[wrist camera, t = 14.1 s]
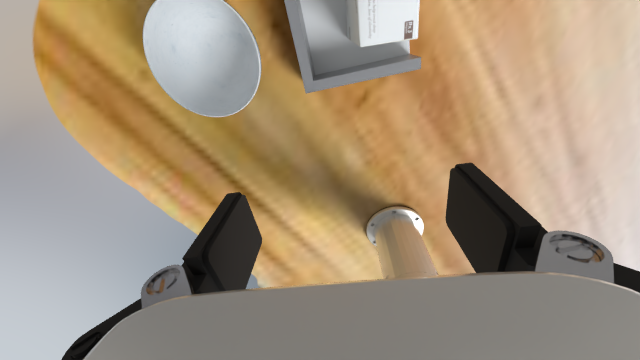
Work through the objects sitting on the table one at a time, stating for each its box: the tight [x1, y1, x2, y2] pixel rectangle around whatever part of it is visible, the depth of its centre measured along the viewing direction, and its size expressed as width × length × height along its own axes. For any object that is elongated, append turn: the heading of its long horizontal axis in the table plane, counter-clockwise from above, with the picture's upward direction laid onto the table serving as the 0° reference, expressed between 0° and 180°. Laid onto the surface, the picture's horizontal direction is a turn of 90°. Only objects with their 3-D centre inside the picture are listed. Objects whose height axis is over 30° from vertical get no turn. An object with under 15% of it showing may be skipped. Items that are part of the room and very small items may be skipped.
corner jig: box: [284, 0, 421, 93], centre depth 32 cm, size 16×16×6 cm
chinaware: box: [143, 0, 261, 117], centre depth 35 cm, size 15×15×8 cm
